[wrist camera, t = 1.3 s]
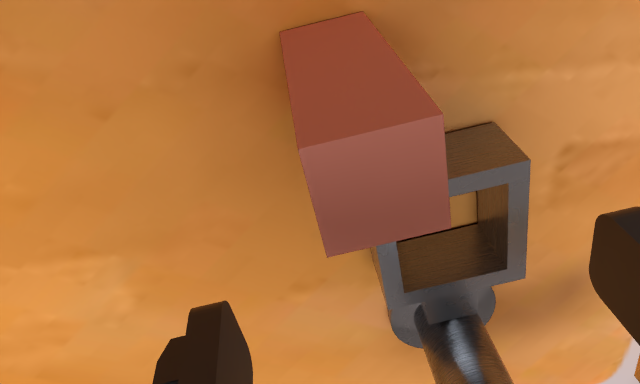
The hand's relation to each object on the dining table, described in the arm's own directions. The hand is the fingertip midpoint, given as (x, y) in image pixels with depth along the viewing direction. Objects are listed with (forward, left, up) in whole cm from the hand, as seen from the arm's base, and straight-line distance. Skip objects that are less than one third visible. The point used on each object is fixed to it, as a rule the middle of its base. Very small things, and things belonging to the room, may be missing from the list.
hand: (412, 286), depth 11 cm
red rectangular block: (0, 0, -15) cm, 15 cm away
